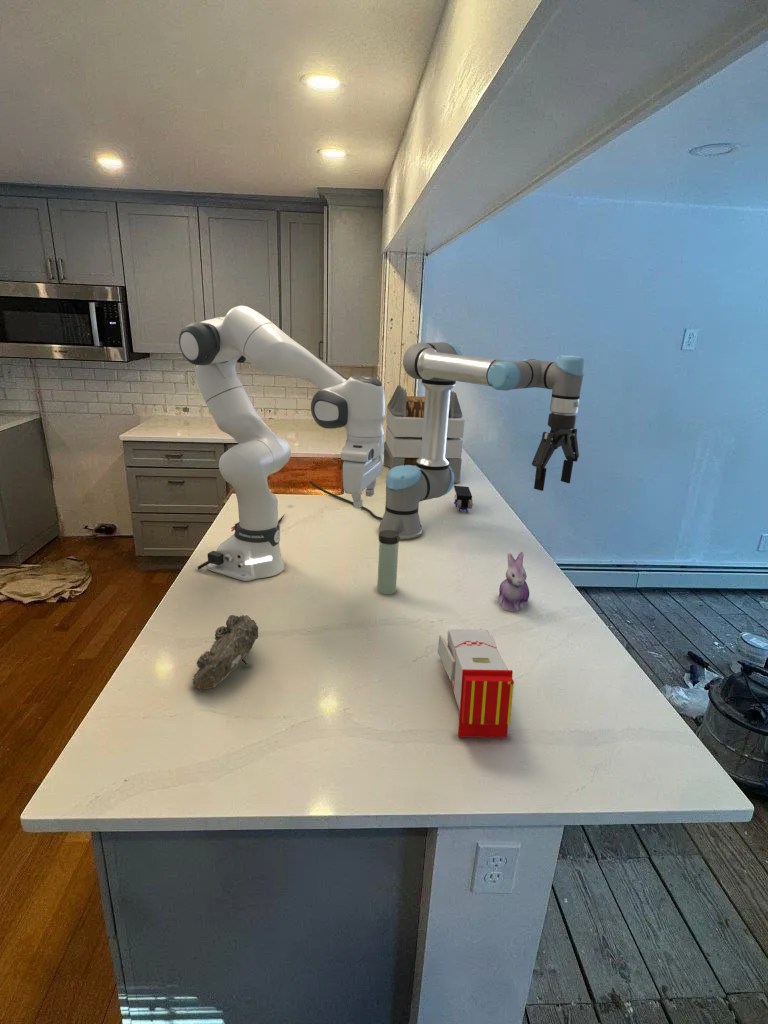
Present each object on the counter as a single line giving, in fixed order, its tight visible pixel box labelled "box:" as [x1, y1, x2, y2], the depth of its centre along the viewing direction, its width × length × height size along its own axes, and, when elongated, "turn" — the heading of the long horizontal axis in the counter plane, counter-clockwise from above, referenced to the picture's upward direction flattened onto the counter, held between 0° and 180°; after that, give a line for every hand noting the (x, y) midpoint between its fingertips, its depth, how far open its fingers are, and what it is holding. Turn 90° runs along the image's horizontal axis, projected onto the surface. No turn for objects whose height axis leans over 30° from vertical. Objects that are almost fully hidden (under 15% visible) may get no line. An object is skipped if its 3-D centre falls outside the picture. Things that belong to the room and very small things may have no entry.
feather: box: [278, 514, 286, 525], centre depth 209 cm, size 2×28×2 cm
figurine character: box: [453, 485, 474, 513], centre depth 227 cm, size 7×8×15 cm
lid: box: [378, 530, 401, 544], centre depth 154 cm, size 6×6×2 cm
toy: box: [437, 628, 515, 738], centre depth 117 cm, size 12×13×30 cm
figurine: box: [497, 551, 530, 612], centre depth 152 cm, size 9×10×15 cm
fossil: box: [192, 614, 259, 691], centre depth 123 cm, size 22×10×15 cm
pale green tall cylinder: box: [376, 540, 400, 595], centre depth 157 cm, size 5×5×17 cm
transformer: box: [383, 384, 465, 484], centre depth 268 cm, size 34×33×41 cm
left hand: (364, 501), depth 139 cm, fingers open, 8 cm apart
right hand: (552, 485), depth 166 cm, fingers open, 13 cm apart
